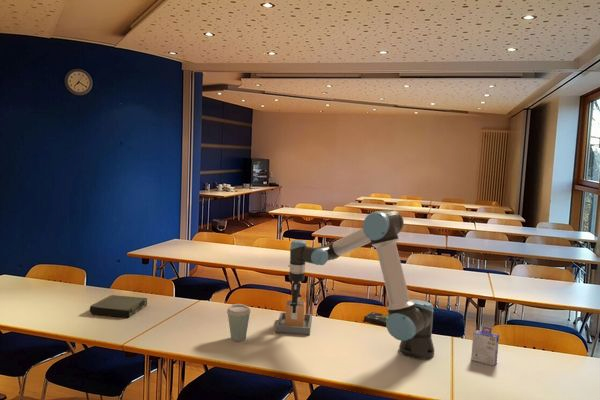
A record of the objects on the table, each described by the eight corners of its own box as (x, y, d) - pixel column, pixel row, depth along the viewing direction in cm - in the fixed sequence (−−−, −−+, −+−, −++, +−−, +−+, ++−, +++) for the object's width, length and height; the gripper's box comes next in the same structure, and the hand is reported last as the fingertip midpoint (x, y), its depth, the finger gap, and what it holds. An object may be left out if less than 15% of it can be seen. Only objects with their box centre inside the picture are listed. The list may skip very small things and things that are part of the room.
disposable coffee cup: (254, 339, 219) (255, 307, 218) (236, 345, 212) (237, 312, 210) (239, 333, 227) (240, 301, 225) (221, 338, 219) (222, 306, 217)
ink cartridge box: (497, 361, 207) (500, 329, 206) (494, 366, 203) (497, 333, 201) (473, 356, 212) (476, 324, 211) (470, 360, 208) (473, 327, 206)
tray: (309, 335, 228) (309, 328, 227) (275, 332, 229) (276, 325, 229) (311, 321, 248) (312, 314, 247) (280, 318, 249) (281, 312, 248)
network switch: (133, 319, 239) (133, 309, 239) (86, 317, 239) (86, 307, 239) (148, 305, 262) (149, 296, 262) (105, 302, 262) (106, 293, 262)
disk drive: (363, 321, 252) (390, 328, 244) (363, 316, 252) (390, 322, 244) (371, 316, 261) (397, 322, 253) (372, 311, 260) (398, 317, 253)
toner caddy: (303, 327, 235) (304, 305, 234) (284, 326, 236) (285, 303, 235) (304, 323, 241) (305, 301, 240) (286, 322, 242) (287, 300, 240)
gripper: (291, 265, 248) (289, 306, 250) (286, 278, 224) (284, 322, 226) (306, 266, 248) (304, 307, 250) (302, 279, 223) (300, 323, 225)
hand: (295, 314), depth 238 cm, fingers open, 13 cm apart
